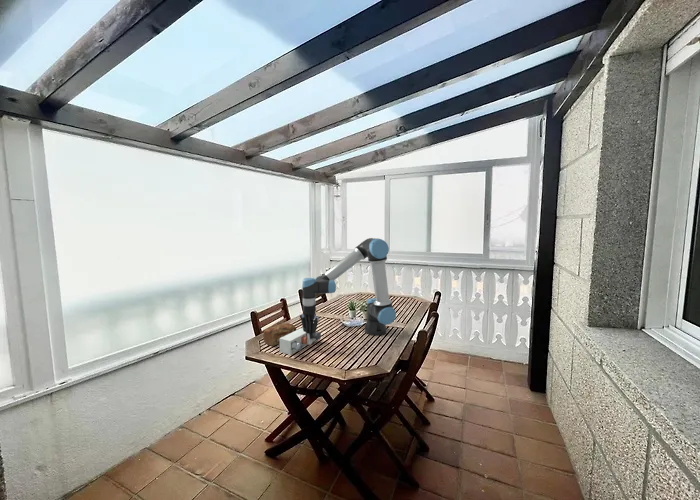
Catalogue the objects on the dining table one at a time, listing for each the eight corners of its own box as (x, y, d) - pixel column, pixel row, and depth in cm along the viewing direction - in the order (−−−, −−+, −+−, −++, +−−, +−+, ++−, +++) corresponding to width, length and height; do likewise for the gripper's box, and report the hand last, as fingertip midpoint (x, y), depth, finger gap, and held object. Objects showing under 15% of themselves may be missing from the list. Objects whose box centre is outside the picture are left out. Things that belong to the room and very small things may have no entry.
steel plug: (302, 349, 164) (302, 341, 164) (297, 352, 160) (297, 344, 160) (287, 345, 169) (287, 337, 169) (282, 348, 165) (282, 340, 165)
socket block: (315, 340, 183) (315, 327, 182) (290, 354, 162) (290, 341, 161) (305, 337, 187) (305, 325, 186) (279, 351, 166) (279, 338, 165)
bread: (272, 347, 172) (271, 331, 172) (262, 342, 180) (262, 327, 179) (297, 338, 186) (297, 323, 185) (287, 334, 193) (287, 320, 192)
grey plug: (321, 338, 180) (320, 331, 179) (316, 341, 176) (316, 333, 175) (306, 335, 185) (306, 328, 185) (302, 337, 181) (302, 330, 181)
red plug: (309, 343, 173) (309, 335, 172) (305, 345, 169) (304, 338, 168) (295, 339, 178) (295, 332, 178) (290, 342, 174) (290, 334, 174)
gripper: (322, 304, 168) (322, 343, 170) (304, 301, 174) (305, 339, 176) (314, 307, 161) (315, 348, 163) (296, 304, 168) (297, 343, 170)
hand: (309, 343), depth 170 cm, fingers closed
